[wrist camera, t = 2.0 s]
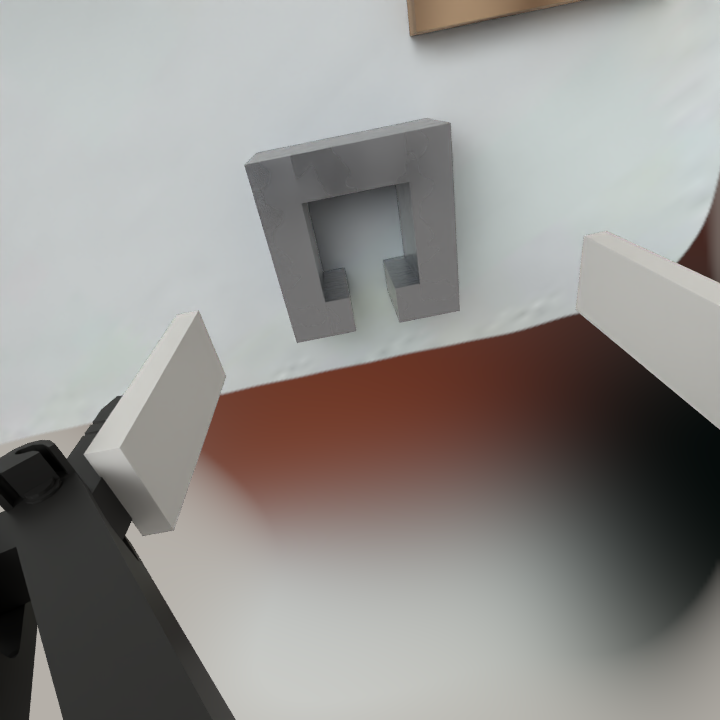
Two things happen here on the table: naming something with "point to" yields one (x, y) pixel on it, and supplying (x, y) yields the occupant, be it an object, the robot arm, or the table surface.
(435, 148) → the grey split frame
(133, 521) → the robot arm
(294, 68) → the table surface
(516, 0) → the post fixture
